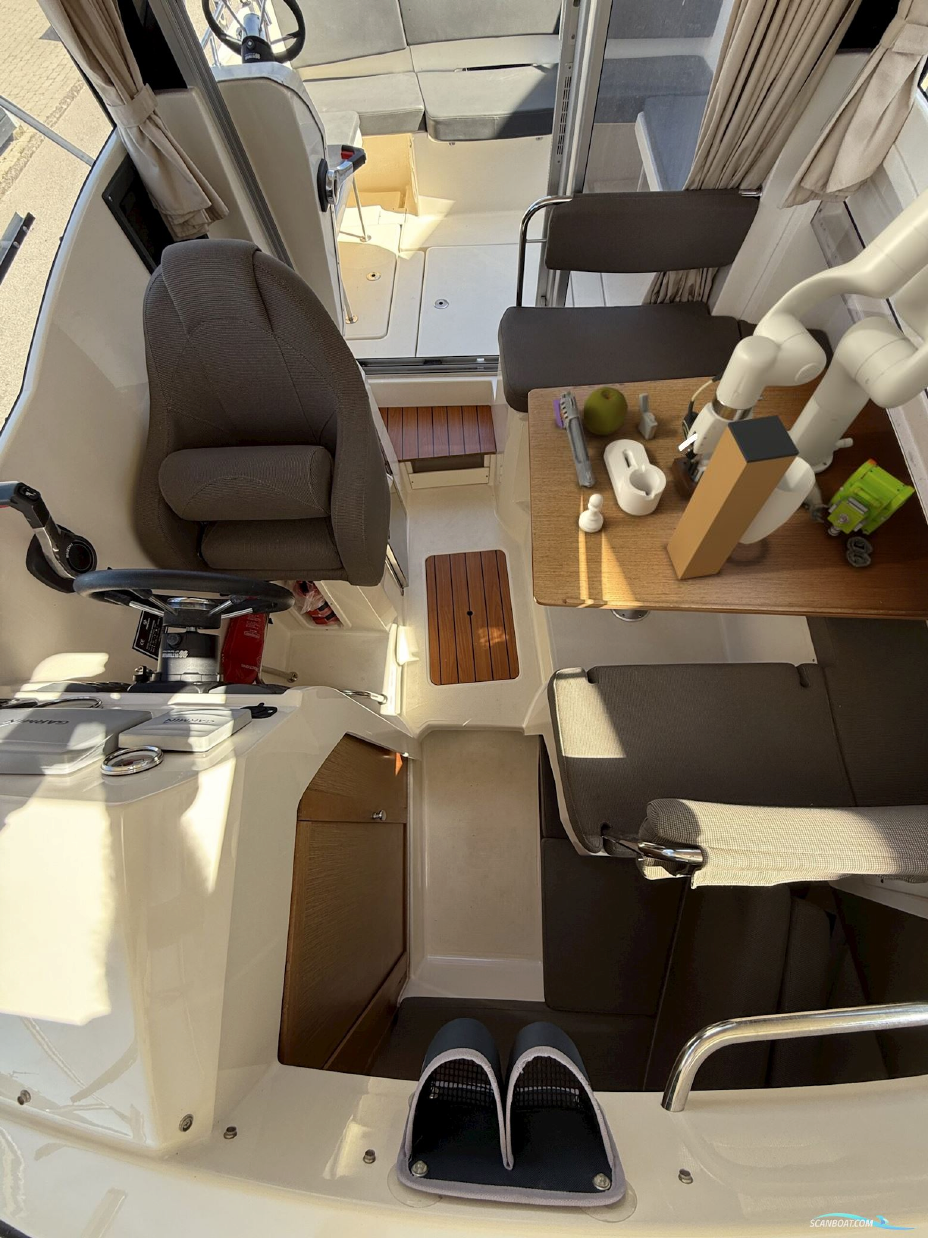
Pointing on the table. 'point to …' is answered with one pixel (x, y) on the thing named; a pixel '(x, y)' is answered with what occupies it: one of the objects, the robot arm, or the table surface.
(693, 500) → the black-topped square pillar
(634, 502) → the bracket
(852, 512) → the lime green boxy piece
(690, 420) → the headphones
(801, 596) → the table surface
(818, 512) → the rhino figurine
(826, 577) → the table surface
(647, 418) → the grey angled piece
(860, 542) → the corroded twin loop
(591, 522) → the chess pawn
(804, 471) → the cup
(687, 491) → the holder
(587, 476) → the handgun
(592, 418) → the apple
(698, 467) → the pill bottle
